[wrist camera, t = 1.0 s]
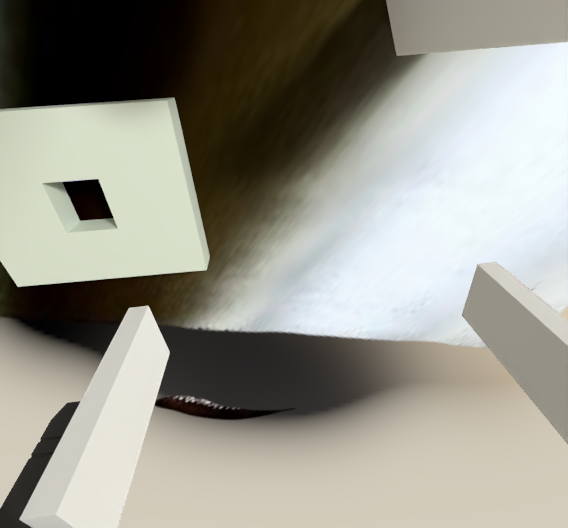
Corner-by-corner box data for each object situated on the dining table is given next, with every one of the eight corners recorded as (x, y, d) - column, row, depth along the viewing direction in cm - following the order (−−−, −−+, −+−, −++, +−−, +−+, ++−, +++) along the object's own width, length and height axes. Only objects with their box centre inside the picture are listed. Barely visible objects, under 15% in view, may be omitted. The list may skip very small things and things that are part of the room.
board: (-65, 113, 28) (-96, 117, 26) (174, 97, 29) (167, 100, 27) (33, 272, 38) (17, 286, 36) (209, 256, 39) (206, 270, 36)
